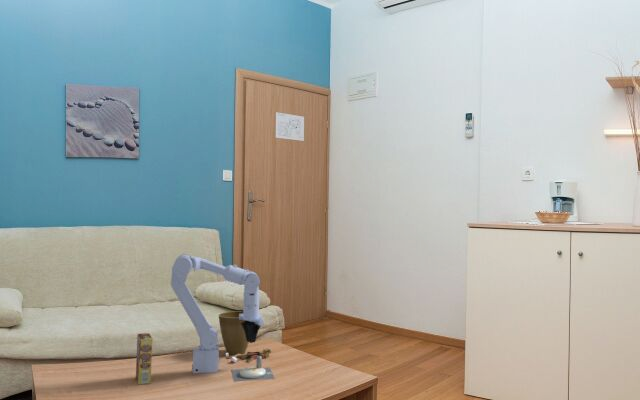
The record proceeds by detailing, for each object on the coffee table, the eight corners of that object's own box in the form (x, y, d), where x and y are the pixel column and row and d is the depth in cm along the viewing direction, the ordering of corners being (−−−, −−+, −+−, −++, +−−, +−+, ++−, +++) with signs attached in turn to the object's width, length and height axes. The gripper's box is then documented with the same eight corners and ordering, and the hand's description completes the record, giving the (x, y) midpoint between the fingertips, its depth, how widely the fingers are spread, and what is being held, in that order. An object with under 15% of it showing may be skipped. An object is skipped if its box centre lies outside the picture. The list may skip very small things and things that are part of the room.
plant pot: (259, 354, 206) (260, 315, 207) (225, 359, 199) (225, 319, 199) (246, 346, 219) (246, 309, 220) (213, 350, 212) (213, 312, 212)
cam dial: (256, 379, 172) (256, 364, 172) (234, 375, 176) (235, 360, 176) (270, 372, 180) (271, 357, 181) (249, 368, 184) (250, 354, 184)
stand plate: (234, 384, 170) (234, 381, 170) (231, 372, 183) (231, 369, 183) (275, 381, 174) (275, 378, 174) (269, 370, 186) (269, 367, 186)
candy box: (151, 383, 171) (152, 338, 171) (138, 385, 169) (139, 339, 169) (148, 375, 179) (149, 332, 179) (135, 377, 177) (136, 333, 177)
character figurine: (224, 361, 198) (224, 350, 198) (267, 355, 207) (267, 345, 207) (232, 367, 190) (232, 357, 190) (276, 361, 198) (276, 351, 198)
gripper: (271, 306, 184) (271, 343, 183) (250, 301, 195) (250, 336, 195) (254, 308, 179) (254, 347, 179) (234, 303, 191) (234, 339, 190)
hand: (251, 341), depth 186 cm, fingers closed
